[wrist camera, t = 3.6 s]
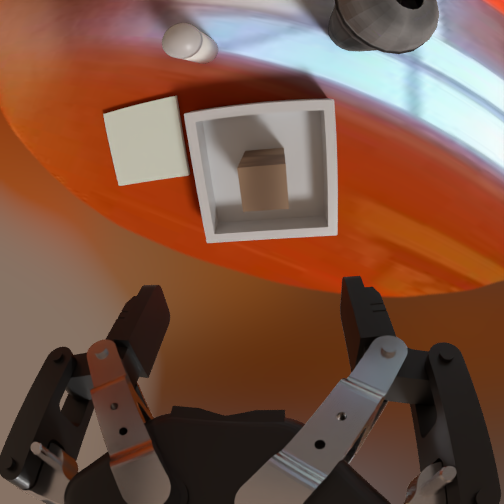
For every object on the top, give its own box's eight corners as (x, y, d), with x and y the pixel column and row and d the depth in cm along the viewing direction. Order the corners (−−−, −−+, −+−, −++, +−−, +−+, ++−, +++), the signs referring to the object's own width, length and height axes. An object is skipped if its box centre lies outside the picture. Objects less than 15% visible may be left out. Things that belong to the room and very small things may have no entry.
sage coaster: (121, 184, 34) (119, 186, 34) (105, 113, 30) (103, 114, 29) (190, 173, 33) (188, 175, 33) (177, 95, 29) (175, 95, 28)
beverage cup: (299, 30, 24) (333, -47, 7) (343, -11, 21) (418, -101, 4) (354, 77, 26) (458, 73, 9) (395, 35, 23) (520, 5, 6)
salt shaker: (191, 66, 27) (164, 61, 20) (187, 40, 25) (160, 28, 19) (220, 61, 27) (201, 53, 20) (216, 34, 25) (197, 19, 18)
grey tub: (212, 228, 36) (207, 243, 33) (193, 110, 29) (183, 113, 26) (332, 221, 35) (337, 235, 32) (327, 98, 28) (334, 99, 25)
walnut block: (249, 186, 33) (242, 212, 27) (245, 150, 31) (237, 168, 25) (286, 183, 32) (288, 208, 26) (283, 147, 30) (285, 164, 24)
